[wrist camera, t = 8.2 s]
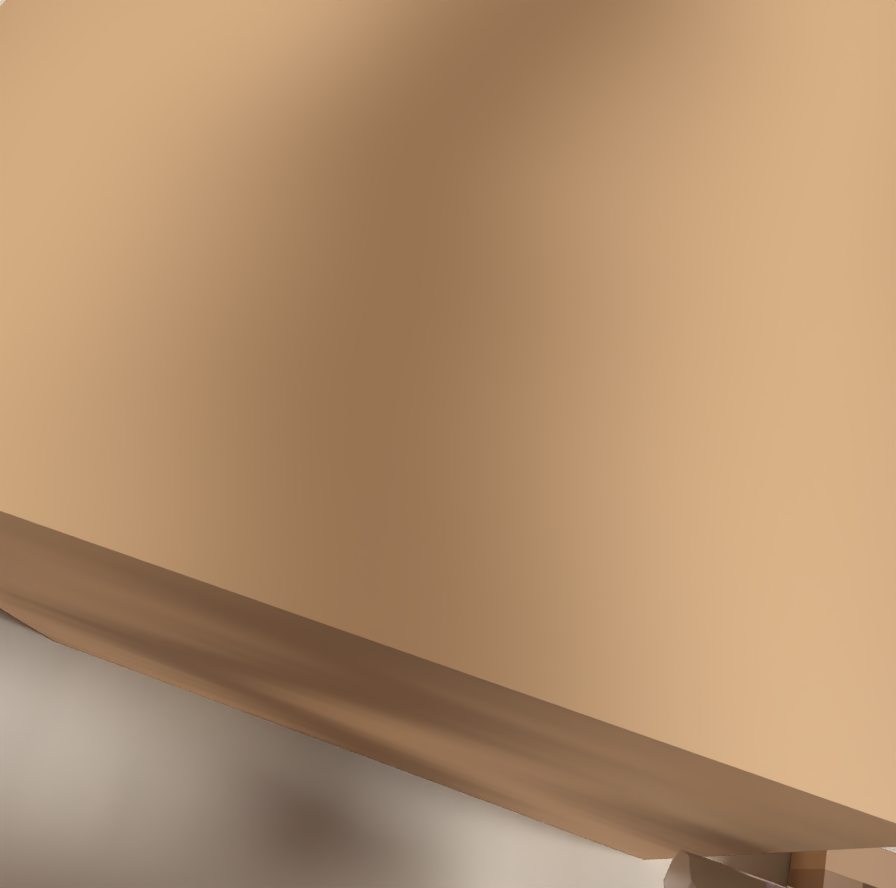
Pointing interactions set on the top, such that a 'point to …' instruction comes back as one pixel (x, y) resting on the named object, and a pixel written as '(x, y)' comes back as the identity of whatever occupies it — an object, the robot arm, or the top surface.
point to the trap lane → (843, 869)
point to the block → (473, 389)
